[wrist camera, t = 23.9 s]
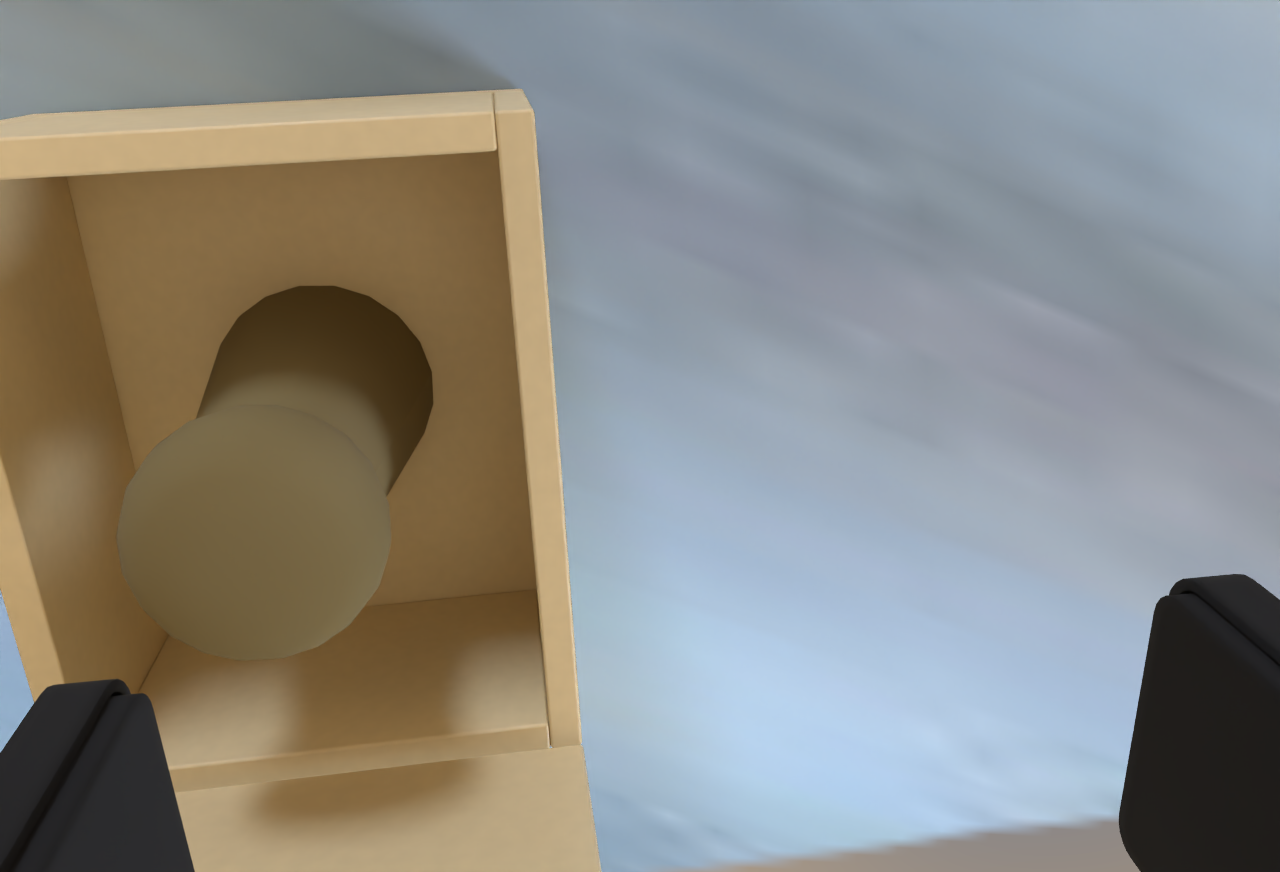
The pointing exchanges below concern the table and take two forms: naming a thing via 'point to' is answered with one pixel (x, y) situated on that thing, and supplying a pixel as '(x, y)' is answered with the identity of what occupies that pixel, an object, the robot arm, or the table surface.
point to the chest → (178, 375)
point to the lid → (404, 819)
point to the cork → (279, 478)
